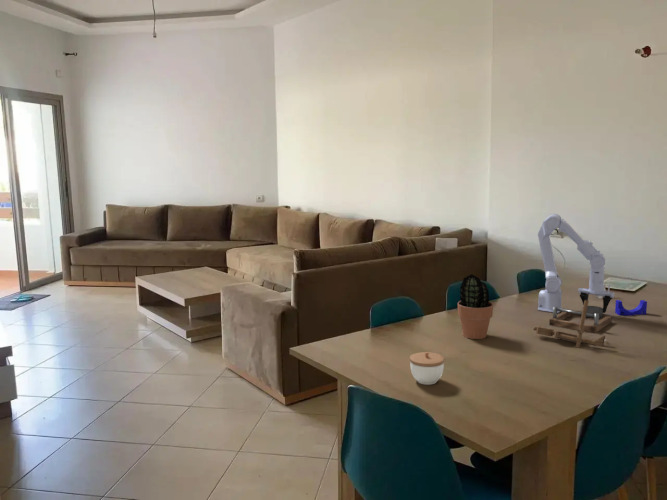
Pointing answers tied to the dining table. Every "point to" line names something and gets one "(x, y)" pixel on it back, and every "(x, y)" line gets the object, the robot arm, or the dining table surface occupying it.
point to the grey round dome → (594, 311)
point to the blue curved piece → (637, 311)
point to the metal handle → (596, 316)
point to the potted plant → (474, 308)
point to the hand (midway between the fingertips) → (594, 310)
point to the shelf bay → (575, 326)
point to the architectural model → (603, 290)
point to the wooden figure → (570, 336)
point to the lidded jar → (426, 367)
